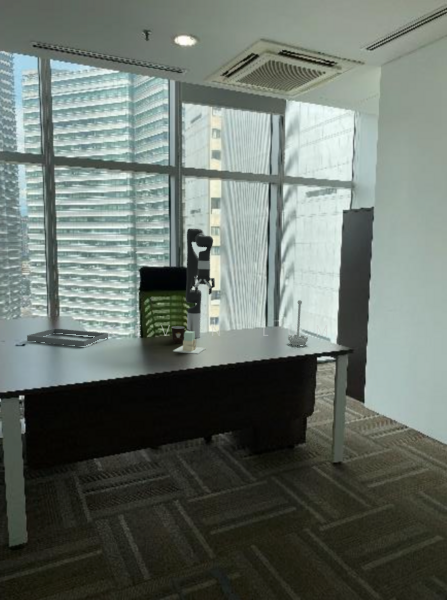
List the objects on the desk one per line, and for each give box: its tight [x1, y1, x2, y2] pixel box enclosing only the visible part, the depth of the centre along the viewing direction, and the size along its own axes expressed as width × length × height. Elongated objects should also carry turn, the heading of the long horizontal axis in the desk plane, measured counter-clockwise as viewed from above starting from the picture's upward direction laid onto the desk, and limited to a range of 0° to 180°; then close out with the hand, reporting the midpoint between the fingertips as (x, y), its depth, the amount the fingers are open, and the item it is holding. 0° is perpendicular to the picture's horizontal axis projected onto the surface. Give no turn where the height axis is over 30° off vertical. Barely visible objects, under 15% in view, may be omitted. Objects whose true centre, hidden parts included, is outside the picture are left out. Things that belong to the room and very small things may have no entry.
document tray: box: [26, 327, 109, 346], centre depth 291 cm, size 27×42×4 cm, turn 73°
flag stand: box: [287, 299, 309, 346], centre depth 299 cm, size 13×13×30 cm
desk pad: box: [172, 345, 207, 355], centre depth 274 cm, size 14×16×1 cm
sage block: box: [183, 330, 196, 341], centre depth 272 cm, size 5×5×5 cm
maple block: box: [182, 339, 197, 351], centre depth 273 cm, size 6×6×6 cm
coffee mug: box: [171, 325, 190, 344], centre depth 295 cm, size 12×9×10 cm
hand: (203, 294), depth 280 cm, fingers open, 8 cm apart
